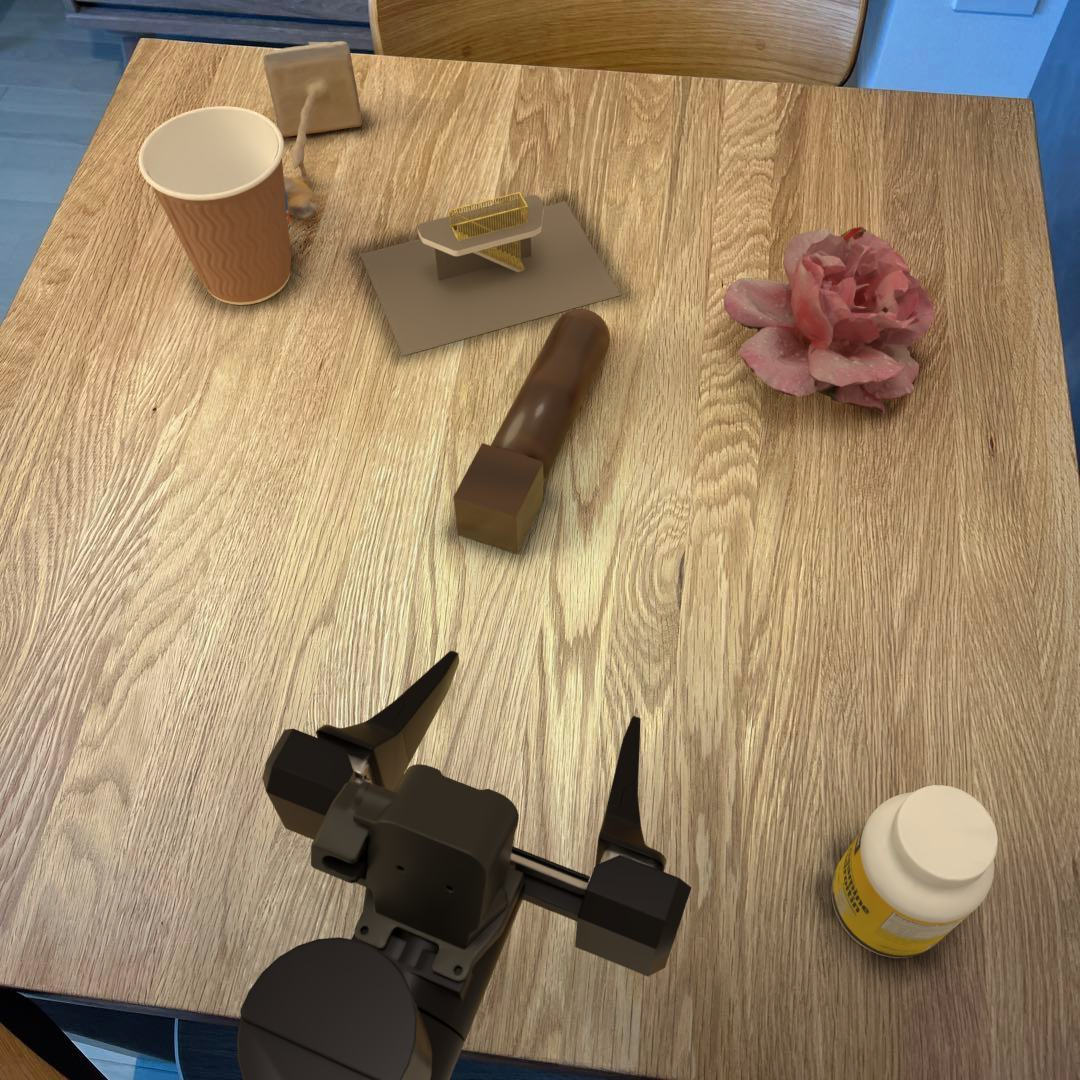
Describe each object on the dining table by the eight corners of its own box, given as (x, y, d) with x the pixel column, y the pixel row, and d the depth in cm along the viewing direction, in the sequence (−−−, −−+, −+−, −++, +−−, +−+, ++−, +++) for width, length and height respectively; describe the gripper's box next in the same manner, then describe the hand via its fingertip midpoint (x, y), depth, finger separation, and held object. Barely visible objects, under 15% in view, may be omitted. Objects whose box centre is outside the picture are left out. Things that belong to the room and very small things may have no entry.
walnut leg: (517, 554, 76) (516, 516, 73) (457, 534, 77) (453, 496, 74) (616, 347, 87) (619, 305, 83) (562, 332, 88) (563, 289, 84)
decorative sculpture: (318, 234, 94) (302, 160, 88) (206, 220, 95) (183, 146, 89) (369, 114, 103) (358, 39, 97) (266, 102, 104) (248, 28, 98)
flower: (753, 434, 78) (813, 316, 71) (693, 306, 88) (741, 191, 81) (935, 447, 83) (1008, 337, 76) (859, 324, 92) (918, 217, 86)
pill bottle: (855, 824, 66) (907, 742, 56) (963, 881, 64) (1036, 806, 54) (809, 922, 63) (857, 853, 53) (922, 985, 61) (992, 926, 51)
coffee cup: (338, 263, 92) (313, 136, 82) (252, 340, 87) (214, 216, 77) (243, 215, 95) (208, 88, 85) (155, 287, 91) (107, 162, 81)
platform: (621, 295, 90) (625, 230, 84) (402, 355, 86) (392, 292, 81) (565, 201, 96) (566, 134, 91) (359, 254, 93) (347, 188, 87)
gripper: (632, 1069, 37) (762, 672, 45) (143, 859, 41) (343, 529, 49) (615, 1119, 46) (725, 781, 54) (216, 943, 50) (375, 653, 58)
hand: (544, 687), depth 54 cm, fingers open, 9 cm apart
